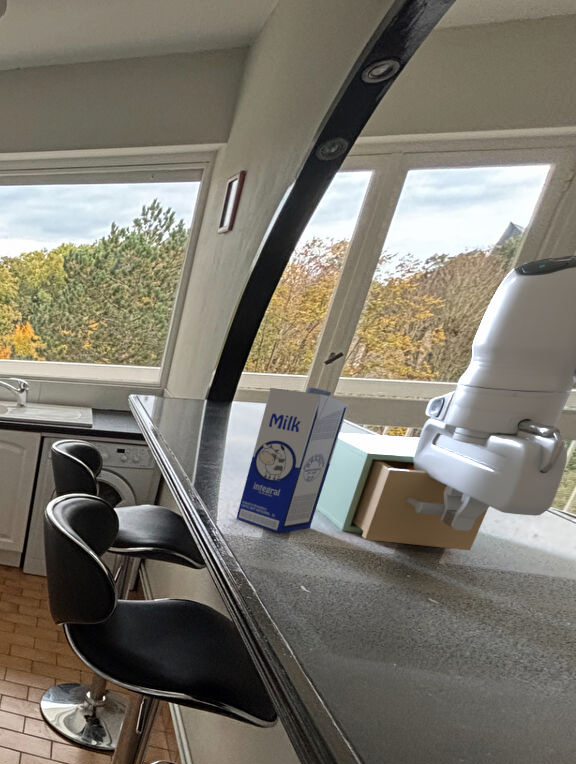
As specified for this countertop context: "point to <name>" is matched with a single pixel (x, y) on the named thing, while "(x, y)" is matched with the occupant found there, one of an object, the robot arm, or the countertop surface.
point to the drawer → (407, 508)
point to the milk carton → (291, 459)
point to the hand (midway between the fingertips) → (454, 526)
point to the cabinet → (357, 472)
